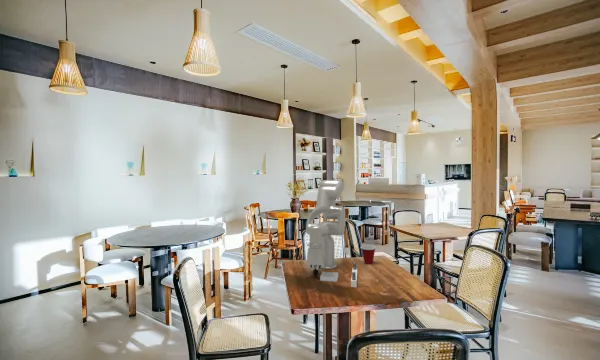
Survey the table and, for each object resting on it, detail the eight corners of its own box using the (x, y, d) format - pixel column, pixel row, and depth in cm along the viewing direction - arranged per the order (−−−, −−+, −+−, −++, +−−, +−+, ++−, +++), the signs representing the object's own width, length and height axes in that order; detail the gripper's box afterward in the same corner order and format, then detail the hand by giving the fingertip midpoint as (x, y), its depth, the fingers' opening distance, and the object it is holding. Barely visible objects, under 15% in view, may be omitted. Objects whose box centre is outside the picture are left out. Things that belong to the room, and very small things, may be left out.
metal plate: (320, 281, 191) (320, 276, 191) (322, 276, 201) (322, 271, 201) (336, 282, 189) (336, 277, 189) (338, 277, 199) (338, 272, 199)
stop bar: (351, 287, 180) (351, 273, 180) (352, 273, 206) (352, 261, 205) (356, 287, 179) (356, 274, 179) (357, 273, 205) (357, 262, 205)
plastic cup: (358, 264, 228) (358, 247, 228) (363, 260, 237) (363, 244, 237) (373, 266, 223) (373, 248, 223) (377, 262, 232) (377, 245, 232)
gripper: (302, 246, 195) (302, 276, 195) (327, 247, 192) (327, 278, 192) (304, 244, 202) (305, 273, 202) (328, 245, 199) (328, 274, 199)
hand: (315, 275), depth 197 cm, fingers closed
